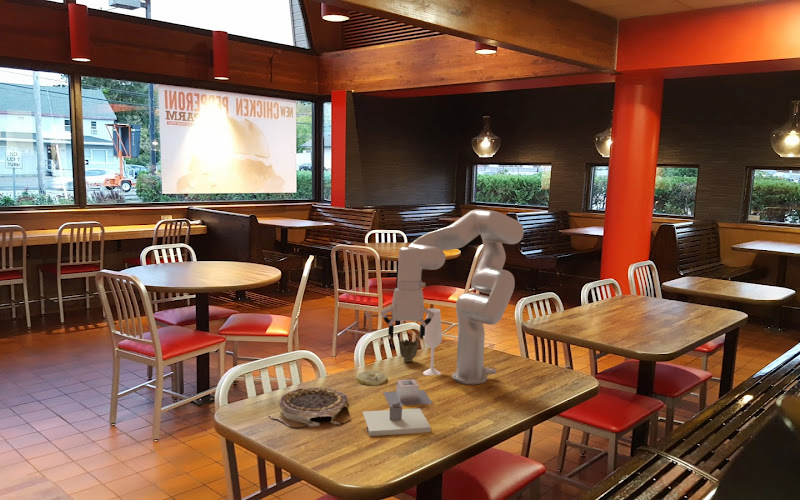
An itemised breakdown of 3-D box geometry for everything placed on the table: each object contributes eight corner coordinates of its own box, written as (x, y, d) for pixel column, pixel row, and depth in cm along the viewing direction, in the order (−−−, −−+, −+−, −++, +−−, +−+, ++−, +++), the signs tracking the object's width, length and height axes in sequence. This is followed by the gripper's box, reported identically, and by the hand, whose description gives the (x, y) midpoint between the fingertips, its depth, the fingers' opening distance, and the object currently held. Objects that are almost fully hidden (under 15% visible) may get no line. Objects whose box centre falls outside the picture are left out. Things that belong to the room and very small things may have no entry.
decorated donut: (378, 392, 208) (378, 381, 208) (350, 386, 213) (351, 376, 212) (391, 382, 218) (392, 372, 217) (365, 377, 222) (365, 367, 221)
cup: (395, 362, 238) (395, 342, 237) (404, 357, 245) (404, 338, 244) (412, 366, 235) (412, 345, 234) (420, 360, 242) (421, 341, 240)
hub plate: (419, 412, 191) (420, 392, 190) (430, 432, 178) (431, 410, 177) (362, 416, 187) (362, 395, 187) (369, 436, 174) (369, 414, 173)
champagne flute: (419, 371, 229) (421, 308, 226) (435, 369, 232) (437, 307, 229) (428, 377, 223) (429, 312, 220) (444, 374, 226) (446, 311, 223)
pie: (252, 409, 192) (252, 394, 191) (322, 389, 211) (322, 375, 210) (305, 439, 172) (305, 422, 172) (376, 414, 191) (377, 399, 191)
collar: (414, 393, 203) (414, 379, 202) (418, 400, 197) (418, 385, 196) (396, 394, 202) (396, 380, 201) (400, 401, 196) (400, 386, 195)
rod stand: (423, 394, 207) (424, 379, 206) (432, 408, 195) (433, 393, 194) (382, 396, 204) (383, 381, 203) (389, 410, 192) (389, 395, 191)
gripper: (434, 284, 201) (431, 335, 203) (381, 282, 199) (379, 334, 201) (437, 288, 193) (434, 341, 195) (382, 286, 192) (380, 340, 194)
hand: (406, 337), depth 198 cm, fingers open, 9 cm apart
